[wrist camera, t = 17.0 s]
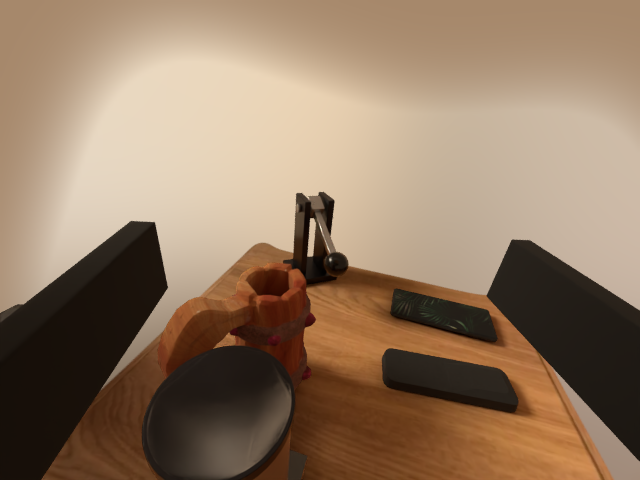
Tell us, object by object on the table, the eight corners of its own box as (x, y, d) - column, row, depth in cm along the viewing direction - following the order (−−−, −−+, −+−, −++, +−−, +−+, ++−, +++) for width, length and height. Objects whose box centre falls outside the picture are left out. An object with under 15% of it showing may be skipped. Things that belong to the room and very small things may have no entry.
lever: (347, 278, 43) (355, 267, 40) (325, 282, 41) (332, 270, 38) (319, 207, 49) (324, 192, 47) (299, 208, 48) (304, 193, 45)
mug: (281, 340, 38) (284, 240, 31) (324, 381, 33) (339, 274, 26) (164, 412, 28) (131, 292, 21) (200, 486, 23) (172, 361, 16)
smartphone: (394, 287, 49) (488, 309, 45) (393, 291, 50) (486, 314, 46) (390, 312, 43) (499, 339, 40) (389, 317, 44) (496, 345, 40)
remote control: (382, 389, 33) (519, 414, 31) (384, 379, 32) (525, 404, 30) (381, 356, 37) (501, 376, 36) (383, 346, 37) (506, 366, 35)
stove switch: (336, 279, 51) (346, 202, 45) (294, 287, 48) (298, 205, 42) (321, 260, 57) (328, 189, 50) (283, 265, 54) (285, 191, 47)
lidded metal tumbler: (147, 550, 19) (100, 454, 14) (217, 427, 26) (204, 332, 21) (261, 602, 18) (258, 518, 12) (302, 456, 25) (311, 363, 19)
